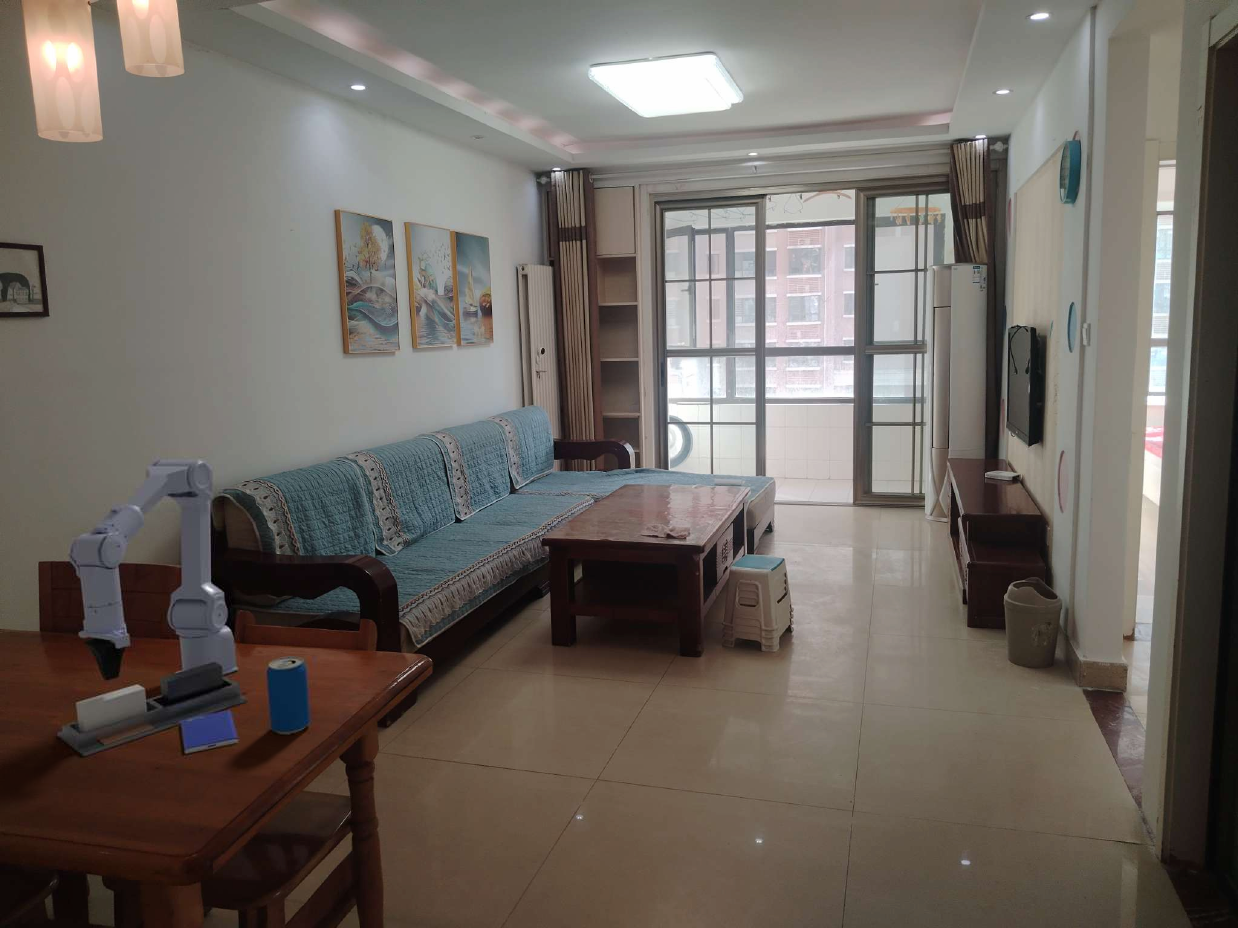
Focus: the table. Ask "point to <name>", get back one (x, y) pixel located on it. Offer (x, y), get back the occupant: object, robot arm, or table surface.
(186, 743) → the hard drive
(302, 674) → the beverage can
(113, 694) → the panel
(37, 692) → the table surface
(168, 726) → the drive rack
